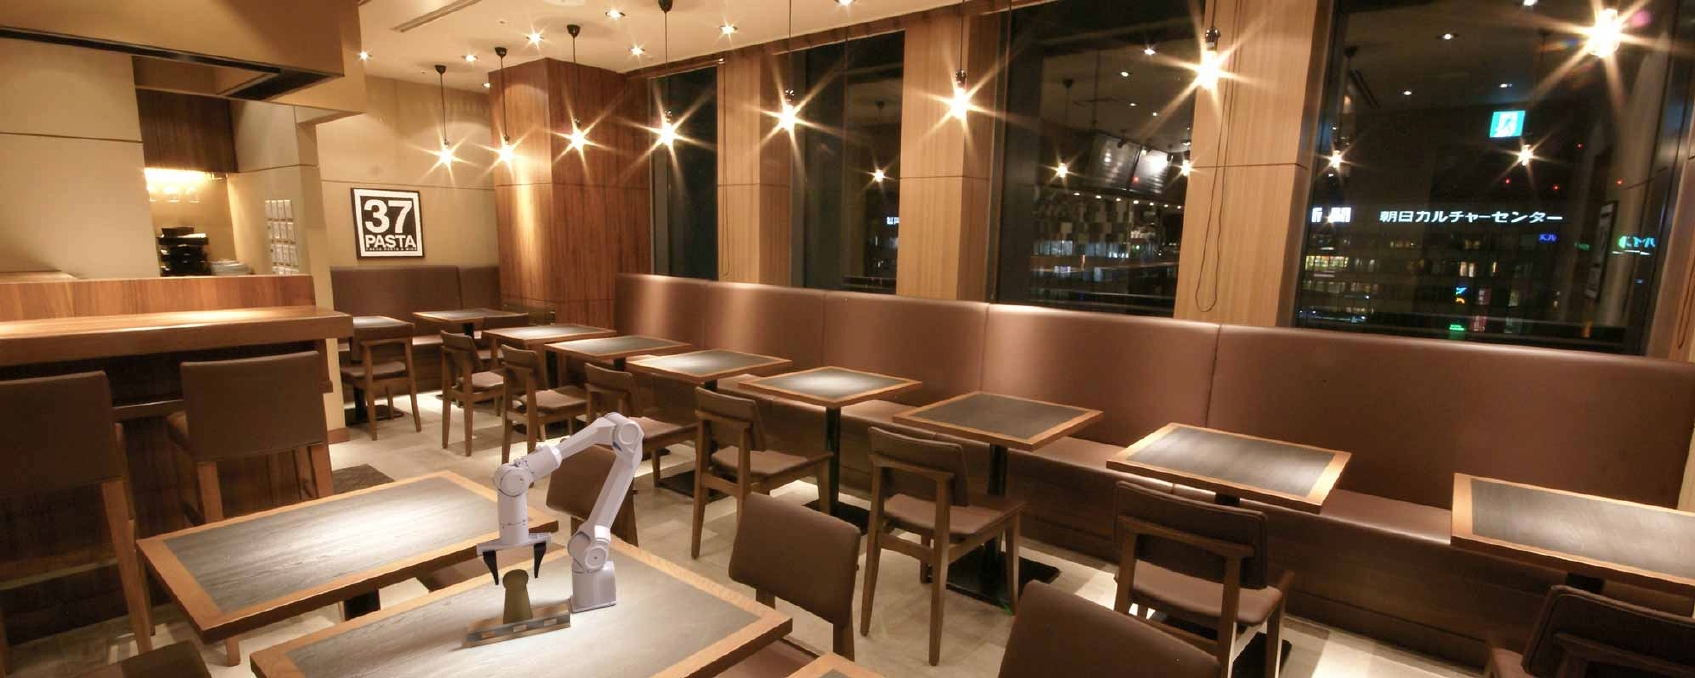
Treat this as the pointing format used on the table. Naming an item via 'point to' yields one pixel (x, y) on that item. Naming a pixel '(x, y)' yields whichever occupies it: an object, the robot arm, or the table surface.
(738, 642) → the table surface
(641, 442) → the robot arm
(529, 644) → the table surface
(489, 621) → the shelf board
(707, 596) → the table surface
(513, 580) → the cork
